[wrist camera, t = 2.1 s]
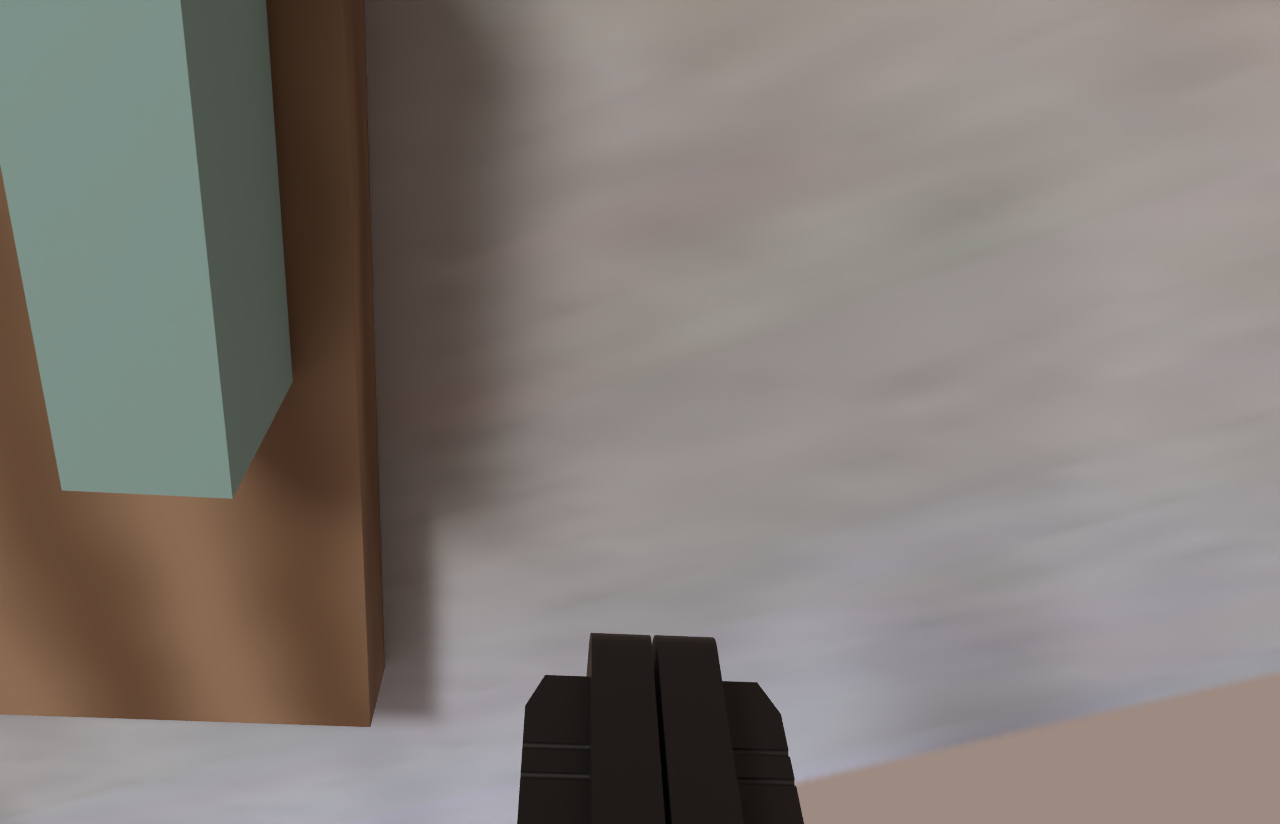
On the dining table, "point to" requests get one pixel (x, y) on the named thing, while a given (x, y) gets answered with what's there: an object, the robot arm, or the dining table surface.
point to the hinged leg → (147, 235)
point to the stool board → (267, 496)
